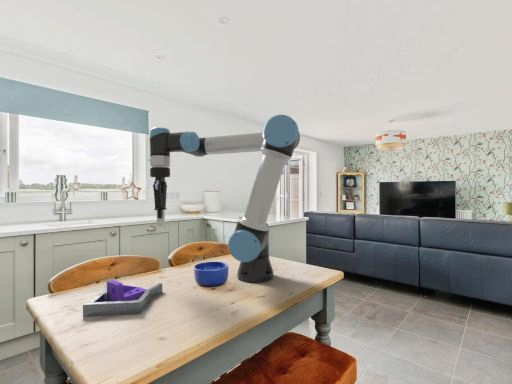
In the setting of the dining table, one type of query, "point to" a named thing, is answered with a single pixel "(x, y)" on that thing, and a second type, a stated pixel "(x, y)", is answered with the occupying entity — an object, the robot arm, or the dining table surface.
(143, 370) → the dining table surface
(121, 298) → the bracket
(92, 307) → the spouted tray
